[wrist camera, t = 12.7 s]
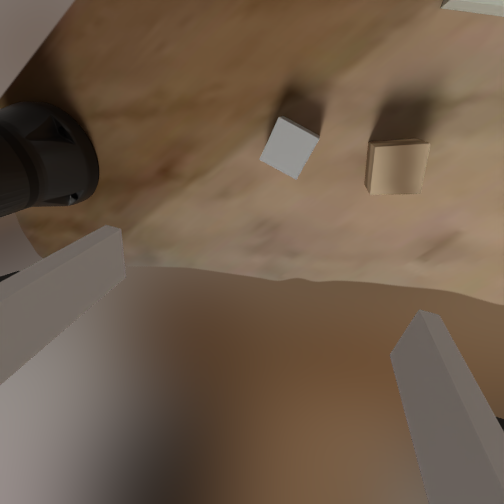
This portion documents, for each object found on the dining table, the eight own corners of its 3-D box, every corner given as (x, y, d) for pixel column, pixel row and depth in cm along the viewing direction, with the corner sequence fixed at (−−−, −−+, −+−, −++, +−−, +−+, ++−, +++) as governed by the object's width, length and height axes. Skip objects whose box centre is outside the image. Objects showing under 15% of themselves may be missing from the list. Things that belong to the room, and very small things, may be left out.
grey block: (265, 154, 35) (259, 159, 31) (283, 115, 32) (279, 116, 29) (299, 172, 35) (296, 179, 32) (319, 135, 32) (319, 138, 29)
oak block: (364, 183, 34) (370, 195, 29) (368, 141, 31) (375, 147, 27) (408, 182, 32) (420, 193, 28) (415, 138, 30) (430, 143, 26)
